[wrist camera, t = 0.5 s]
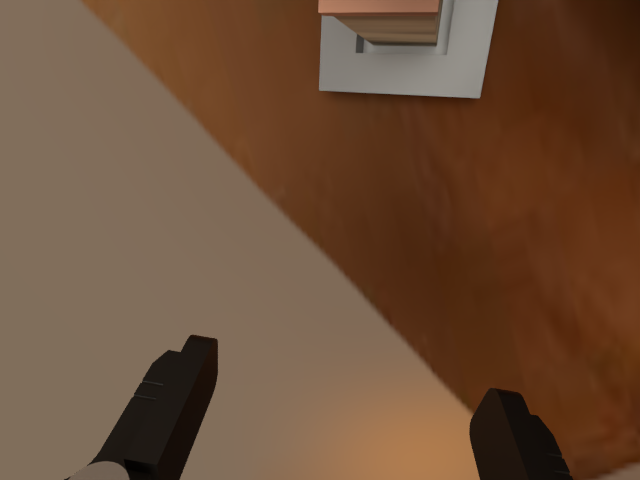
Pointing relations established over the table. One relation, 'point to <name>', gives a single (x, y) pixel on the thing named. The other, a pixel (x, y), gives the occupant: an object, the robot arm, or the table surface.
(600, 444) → the table surface
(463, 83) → the socket block
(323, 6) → the plug
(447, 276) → the table surface
